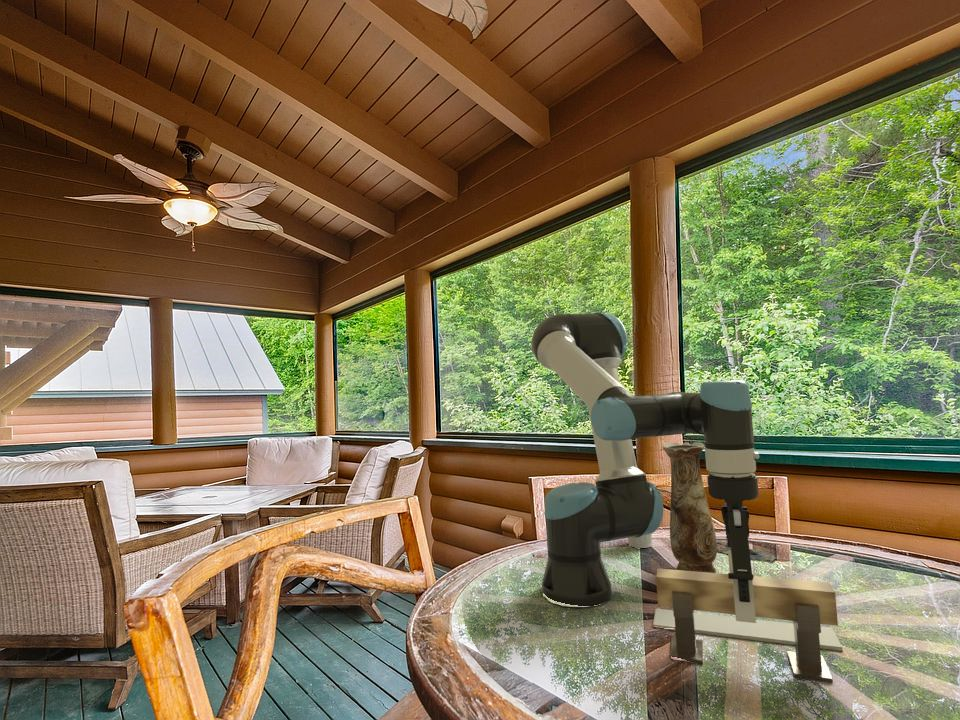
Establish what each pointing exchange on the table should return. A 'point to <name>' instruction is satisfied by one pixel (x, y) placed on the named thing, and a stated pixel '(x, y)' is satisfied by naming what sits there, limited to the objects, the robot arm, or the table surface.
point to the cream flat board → (746, 629)
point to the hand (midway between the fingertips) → (742, 603)
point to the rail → (769, 593)
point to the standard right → (808, 645)
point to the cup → (641, 541)
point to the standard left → (685, 630)
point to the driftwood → (753, 554)
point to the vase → (690, 510)
